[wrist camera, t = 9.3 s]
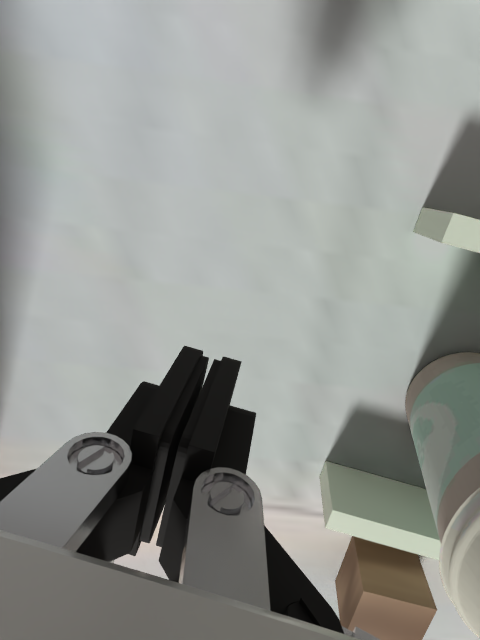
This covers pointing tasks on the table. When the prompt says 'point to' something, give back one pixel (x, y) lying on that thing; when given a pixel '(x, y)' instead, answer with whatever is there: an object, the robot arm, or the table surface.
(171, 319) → the table surface
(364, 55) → the table surface
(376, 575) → the walnut block
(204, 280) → the table surface
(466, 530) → the coffee cup
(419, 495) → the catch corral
